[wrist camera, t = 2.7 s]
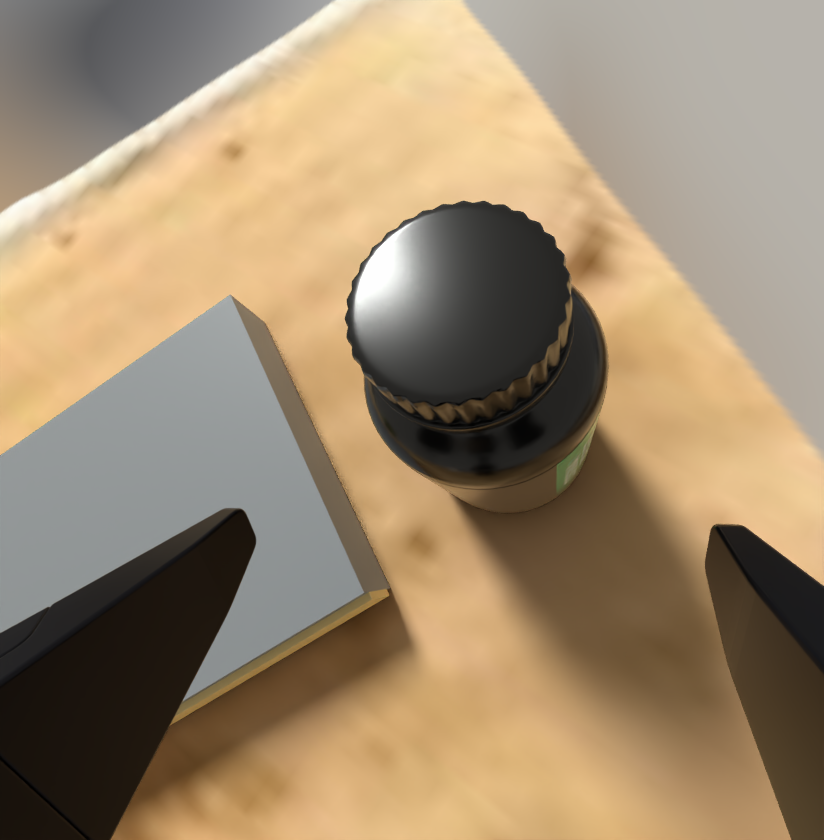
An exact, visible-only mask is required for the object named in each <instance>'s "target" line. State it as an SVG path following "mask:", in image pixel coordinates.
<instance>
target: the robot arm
mask: <svg viewBox="0 0 824 840" xmlns="http://www.w3.org/2000/svg"><path fill="white" fill-rule="evenodd" d="M255 547H256V535H255V533H254V530H253V528H252V526H251V523H250V521H249V519H248V516H247V514H246V512H245V511H244V510H243V509H241V508H224V509H222V510H220V511H218V512H216V513H214V514H213V515H211V516H209V517H207V518H205V519H204V520H202V521H200V522H198V523H197V524H195V525H193V526H191V527H189V528H188V529H186V530H184V531H182V532H180V533H179V534H177V535H175V536H173V537H172V538H170V539H168V540H166V541H164V542H163V543H161V544H159V545H157V546H155V547H154V548H152V549H150V550H148V551H147V552H145V553H143V554H141V555H139V556H138V557H136V558H134V559H132V560H130V561H129V562H127V563H125V564H123V565H121V566H120V567H118V568H116V569H114V570H113V571H111V572H109V573H107V574H105V575H104V576H102V577H100V578H98V579H96V580H95V581H93V582H91V583H89V584H88V585H86V586H84V587H82V588H80V589H79V590H77V591H75V592H73V593H71V594H70V595H68V596H66V597H64V598H63V599H61V600H59V601H57V602H55V603H54V604H52V605H51V607H46V608H44V609H43V610H41V611H39V612H37V613H36V614H34V615H32V616H30V617H28V618H27V619H25V620H23V621H21V622H19V623H17V624H16V625H14V626H12V627H10V628H8V629H6V630H5V631H3V632H1V633H0V840H111V838H112V836H113V834H114V832H115V830H116V828H117V826H118V825H119V823H120V821H121V819H122V817H123V815H124V813H125V811H126V809H127V807H128V805H129V803H130V801H131V800H132V798H133V796H134V794H135V792H136V790H137V788H138V786H139V784H140V782H141V780H142V778H143V776H144V774H145V773H146V771H147V769H148V767H149V765H150V763H151V761H152V759H153V757H154V755H155V753H156V751H157V749H158V748H159V746H160V744H161V742H162V740H163V738H164V736H165V734H166V732H167V730H168V728H169V726H170V724H171V723H172V721H173V719H174V717H175V715H176V713H177V711H178V709H179V707H180V705H181V703H182V701H183V699H184V698H185V696H186V694H187V692H188V690H189V688H190V686H191V684H192V682H193V680H194V678H195V676H196V674H197V673H198V671H199V669H200V667H201V665H202V663H203V661H204V659H205V657H206V655H207V653H208V651H209V649H210V647H211V646H212V644H213V642H214V640H215V638H216V636H217V634H218V632H219V630H220V628H221V626H222V624H223V622H224V620H225V618H226V616H227V614H228V612H229V610H230V608H231V606H232V603H233V601H234V599H235V596H236V594H237V591H238V589H239V586H240V584H241V581H242V579H243V577H244V574H245V572H246V569H247V567H248V564H249V562H250V559H251V557H252V554H253V552H254V549H255ZM705 570H706V576H707V580H708V585H709V589H710V593H711V597H712V601H713V606H714V610H715V614H716V618H717V622H718V627H719V631H720V635H721V639H722V643H723V648H724V652H725V655H726V659H727V663H728V666H729V669H730V672H731V675H732V678H733V681H734V684H735V687H736V690H737V692H738V695H739V698H740V700H741V703H742V706H743V709H744V711H745V714H746V717H747V720H748V722H749V725H750V728H751V731H752V733H753V736H754V739H755V741H756V744H757V747H758V750H759V752H760V755H761V758H762V761H763V763H764V766H765V769H766V771H767V774H768V777H769V780H770V782H771V785H772V788H773V791H774V793H775V796H776V799H777V801H778V804H779V807H780V810H781V812H782V815H783V818H784V821H785V823H786V826H787V829H788V831H789V834H790V837H791V840H824V586H823V585H822V584H820V583H819V582H818V581H816V580H815V579H814V578H812V577H811V576H810V575H808V574H807V573H806V572H804V571H803V570H802V569H800V568H799V567H798V566H796V565H795V564H794V563H792V562H791V561H790V560H788V559H787V558H786V557H784V556H783V555H782V554H781V553H779V552H778V551H777V550H775V549H774V548H773V547H771V546H770V545H769V544H767V543H766V542H765V541H763V540H762V539H761V538H759V537H758V536H757V535H755V534H754V533H753V532H751V531H750V530H749V529H747V528H746V527H744V526H742V525H735V524H716V525H714V526H713V527H712V528H711V531H710V536H709V542H708V548H707V553H706V559H705Z"/></svg>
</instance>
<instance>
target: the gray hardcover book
mask: <svg viewBox="0 0 824 840" xmlns="http://www.w3.org/2000/svg"><path fill="white" fill-rule="evenodd" d="M224 508H241V509H243V510H244V511H245V512H246V514H247V516H248V519H249V521H250V523H251V526H252V528H253V530H254V533H255V535H256V547H255V549H254V552H253V554H252V557H251V559H250V562H249V564H248V567H247V569H246V572H245V574H244V577H243V579H242V581H241V584H240V586H239V589H238V591H237V594H236V596H235V599H234V601H233V603H232V606H231V608H230V610H229V612H228V614H227V616H226V618H225V620H224V622H223V624H222V626H221V628H220V630H219V632H218V634H217V636H216V638H215V640H214V642H213V644H212V646H211V647H210V649H209V651H208V653H207V655H206V657H205V659H204V661H203V663H202V665H201V667H200V669H199V671H198V673H197V674H196V676H195V678H194V680H193V682H192V684H191V686H190V688H189V690H188V692H187V694H186V696H185V698H184V699H183V701H182V703H181V705H180V707H179V709H178V711H177V713H176V715H175V717H174V719H173V721H172V723H171V724H170V725H172V724H173V723H175V722H177V721H179V720H180V719H182V718H184V717H185V716H187V715H189V714H190V713H192V712H194V711H195V710H197V709H199V708H200V707H202V706H204V705H206V704H207V703H209V702H211V701H212V700H214V699H216V698H217V697H219V696H221V695H222V694H224V693H226V692H227V691H229V690H231V689H233V688H234V687H236V686H238V685H239V684H241V683H243V682H244V681H246V680H248V679H249V678H251V677H253V676H255V675H256V674H258V673H260V672H261V671H263V670H265V669H266V668H268V667H270V666H271V665H273V664H275V663H276V662H278V661H280V660H282V659H283V658H285V657H287V656H288V655H290V654H292V653H293V652H295V651H297V650H298V649H300V648H302V647H303V646H305V645H307V644H309V643H310V642H312V641H314V640H315V639H317V638H319V637H320V636H322V635H324V634H325V633H327V632H329V631H330V630H332V629H334V628H336V627H337V626H339V625H341V624H342V623H344V622H346V621H347V620H349V619H351V618H352V617H354V616H356V615H358V614H359V613H361V612H363V611H364V610H366V609H368V608H369V607H371V606H373V605H374V604H376V603H378V602H379V601H381V600H383V599H385V598H386V597H388V596H390V595H389V593H388V591H387V590H388V589H390V586H389V584H388V582H387V580H386V578H385V576H384V574H383V572H382V570H381V567H380V565H379V563H378V561H377V559H376V557H375V555H374V553H373V551H372V548H371V546H370V544H369V542H368V540H367V538H366V536H365V534H364V532H363V529H362V527H361V525H360V523H359V521H358V519H357V517H356V515H355V512H354V510H353V508H352V506H351V504H350V502H349V500H348V498H347V496H346V493H345V491H344V489H343V487H342V485H341V483H340V481H339V479H338V477H337V474H336V472H335V470H334V468H333V466H332V464H331V462H330V460H329V458H328V455H327V453H326V451H325V449H324V447H323V445H322V443H321V441H320V439H319V436H318V434H317V432H316V430H315V428H314V426H313V424H312V422H311V420H310V417H309V415H308V413H307V411H306V409H305V407H304V405H303V403H302V401H301V398H300V396H299V394H298V392H297V390H296V388H295V386H294V384H293V382H292V379H291V377H290V375H289V373H288V371H287V369H286V367H285V365H284V363H283V360H282V358H281V356H280V354H279V352H278V350H277V348H276V346H275V344H274V341H273V339H272V337H271V335H270V333H269V331H268V329H267V327H266V325H265V322H263V321H262V320H261V319H260V318H259V317H257V316H256V315H255V314H254V313H252V312H251V311H250V310H249V309H247V308H246V307H245V306H244V305H242V304H241V303H240V302H239V301H238V300H236V299H235V298H234V297H233V296H231V295H229V296H228V297H226V298H225V299H223V300H222V301H220V302H219V303H218V304H216V305H215V306H213V307H212V308H210V309H209V310H208V311H206V312H205V313H203V314H202V315H200V316H199V317H198V318H196V319H195V320H193V321H192V322H190V323H189V324H188V325H186V326H185V327H183V328H182V329H180V330H179V331H178V332H176V333H175V334H173V335H172V336H170V337H169V338H168V339H166V340H165V341H163V342H162V343H160V344H159V345H158V346H156V347H155V348H153V349H152V350H150V351H149V352H148V353H146V354H145V355H143V356H142V357H140V358H139V359H138V360H136V361H135V362H133V363H132V364H130V365H129V366H128V367H126V368H125V369H123V370H122V371H120V372H119V373H118V374H116V375H115V376H113V377H112V378H110V379H109V380H107V381H106V382H105V383H103V384H102V385H100V386H99V387H97V388H96V389H95V390H93V391H92V392H90V393H89V394H87V395H86V396H85V397H83V398H82V399H80V400H79V401H77V402H76V403H75V404H73V405H72V406H70V407H69V408H67V409H66V410H65V411H63V412H62V413H60V414H59V415H57V416H56V417H55V418H53V419H52V420H50V421H49V422H47V423H46V424H45V425H43V426H42V427H40V428H39V429H37V430H36V431H35V432H33V433H32V434H30V435H29V436H27V437H26V438H25V439H23V440H22V441H20V442H19V443H17V444H16V445H15V446H13V447H12V448H10V449H9V450H7V451H6V452H5V453H3V454H2V455H0V633H1V632H3V631H5V630H6V629H8V628H10V627H12V626H14V625H16V624H17V623H19V622H21V621H23V620H25V619H27V618H28V617H30V616H32V615H34V614H36V613H37V612H39V611H41V610H43V609H44V608H46V607H51V605H52V604H54V603H55V602H57V601H59V600H61V599H63V598H64V597H66V596H68V595H70V594H71V593H73V592H75V591H77V590H79V589H80V588H82V587H84V586H86V585H88V584H89V583H91V582H93V581H95V580H96V579H98V578H100V577H102V576H104V575H105V574H107V573H109V572H111V571H113V570H114V569H116V568H118V567H120V566H121V565H123V564H125V563H127V562H129V561H130V560H132V559H134V558H136V557H138V556H139V555H141V554H143V553H145V552H147V551H148V550H150V549H152V548H154V547H155V546H157V545H159V544H161V543H163V542H164V541H166V540H168V539H170V538H172V537H173V536H175V535H177V534H179V533H180V532H182V531H184V530H186V529H188V528H189V527H191V526H193V525H195V524H197V523H198V522H200V521H202V520H204V519H205V518H207V517H209V516H211V515H213V514H214V513H216V512H218V511H220V510H222V509H224Z"/></svg>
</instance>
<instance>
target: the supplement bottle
mask: <svg viewBox="0 0 824 840" xmlns="http://www.w3.org/2000/svg"><path fill="white" fill-rule="evenodd" d="M347 306H348V311H347V313H346V316H345V321H346V324H347V326H348V330H347V340H348V342H349V343H350V345H351V346H352V355H353V358H354V360H355V361H356V362H357V363H358V364H359V365H360V366H361V368H362V371H363V374H364V392H365V398H366V403H367V407H368V410H369V414H370V416H371V419H372V421H373V424H374V426H375V428H376V429H377V431H378V433H379V435H380V436H381V438H382V439H383V441H384V442H385V444H386V445H387V446H388V447H389V448H390V450H391V451H392V452H393V453H394V454H395V455H396V456H397V457H398V458H399V459H400V460H402V461H403V462H404V463H405V464H406V465H408V466H409V467H410V468H411V469H413V470H414V471H416V472H418V473H419V474H421V475H422V476H424V477H425V478H427V479H429V480H430V481H432V482H433V483H435V484H437V485H438V486H440V487H442V488H443V489H445V490H446V491H448V492H450V493H451V494H453V495H454V496H456V497H458V498H459V499H461V500H463V501H464V502H466V503H468V504H471V505H472V506H475V507H477V508H480V509H483V510H487V511H491V512H497V513H517V512H524V511H528V510H532V509H535V508H538V507H540V506H543V505H545V504H547V503H548V502H550V501H552V500H553V499H555V498H556V497H558V496H559V495H560V494H561V493H563V492H564V491H565V490H566V489H567V488H568V487H569V486H570V485H571V483H572V482H573V481H574V480H575V478H576V477H577V475H578V474H579V472H580V470H581V468H582V466H583V464H584V462H585V459H586V457H587V454H588V451H589V447H590V444H591V441H592V438H593V434H594V431H595V428H596V424H597V421H598V418H599V415H600V411H601V408H602V405H603V401H604V397H605V393H606V388H607V380H608V369H609V364H608V350H607V343H606V339H605V335H604V332H603V329H602V327H601V324H600V321H599V319H598V317H597V315H596V313H595V311H594V310H593V308H592V307H591V305H590V304H589V302H588V301H587V300H586V298H585V297H584V296H583V295H582V294H581V292H580V291H579V290H577V289H576V288H575V287H574V286H573V285H572V284H571V276H570V274H569V272H568V270H567V269H566V257H565V255H564V254H563V253H562V251H561V250H559V249H558V248H557V245H556V241H555V238H554V237H553V236H552V235H550V234H548V233H546V232H544V230H543V227H542V225H541V224H540V223H539V222H537V221H533V220H530V219H529V218H528V217H527V216H526V214H525V213H524V212H521V211H513V210H511V209H510V208H509V207H507V206H506V205H492V204H490V203H488V202H486V201H480V202H476V203H471V202H467V201H461V202H458V203H456V204H453V205H450V204H442V205H440V206H438V207H437V208H435V209H433V210H426V211H422V212H421V213H419V214H418V215H417V216H416V217H414V218H411V219H408V220H405V221H403V222H402V223H401V224H400V226H399V227H398V228H396V229H394V230H392V231H390V232H388V233H387V234H386V235H385V237H384V238H383V240H382V241H381V242H380V243H378V244H377V245H375V246H374V247H373V248H372V250H371V252H370V255H369V256H368V257H367V258H366V259H365V260H364V261H363V262H362V263H361V265H360V269H359V273H358V274H357V275H356V277H355V278H354V279H353V281H352V291H351V293H350V294H349V296H348V298H347Z"/></svg>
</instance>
